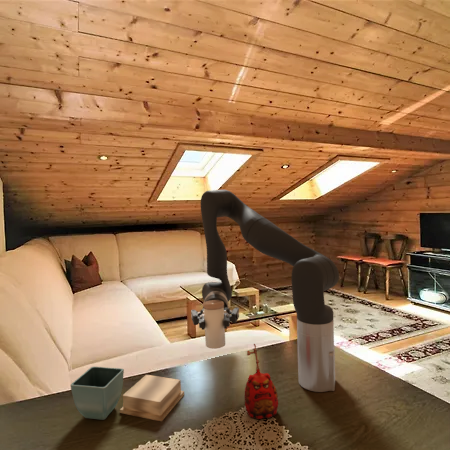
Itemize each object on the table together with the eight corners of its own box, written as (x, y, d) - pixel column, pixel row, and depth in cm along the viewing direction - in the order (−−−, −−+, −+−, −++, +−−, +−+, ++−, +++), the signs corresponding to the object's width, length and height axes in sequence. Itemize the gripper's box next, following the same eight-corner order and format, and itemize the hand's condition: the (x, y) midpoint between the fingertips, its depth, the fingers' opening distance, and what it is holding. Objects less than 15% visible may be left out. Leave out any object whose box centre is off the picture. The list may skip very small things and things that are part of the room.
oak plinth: (184, 394, 86) (183, 379, 86) (161, 421, 75) (160, 404, 75) (146, 387, 90) (145, 373, 89) (119, 412, 79) (118, 396, 79)
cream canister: (228, 341, 90) (226, 300, 90) (221, 349, 85) (219, 306, 85) (210, 339, 92) (207, 299, 92) (202, 347, 87) (199, 305, 87)
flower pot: (107, 427, 74) (104, 387, 74) (71, 423, 76) (69, 384, 75) (126, 403, 83) (124, 368, 82) (94, 401, 84) (92, 366, 84)
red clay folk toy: (249, 424, 73) (246, 356, 72) (241, 405, 80) (238, 343, 79) (282, 418, 75) (280, 352, 74) (271, 400, 82) (269, 340, 81)
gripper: (191, 294, 103) (185, 312, 86) (238, 292, 103) (241, 309, 86) (192, 319, 103) (186, 341, 86) (239, 316, 103) (243, 338, 86)
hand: (214, 325), depth 86 cm, fingers closed on cream canister, 5 cm apart
